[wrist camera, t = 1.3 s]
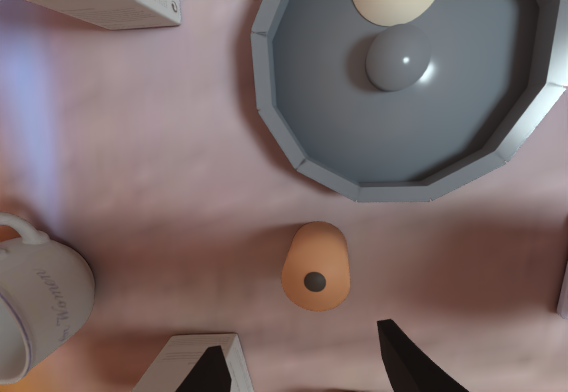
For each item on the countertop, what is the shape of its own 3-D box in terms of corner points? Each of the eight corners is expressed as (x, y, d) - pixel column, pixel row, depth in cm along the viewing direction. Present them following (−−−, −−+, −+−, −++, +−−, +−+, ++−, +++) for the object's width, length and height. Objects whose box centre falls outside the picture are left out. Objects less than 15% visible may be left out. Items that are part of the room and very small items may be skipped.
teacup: (102, 334, 29) (21, 409, 22) (15, 289, 30) (-93, 347, 22) (130, 225, 25) (40, 272, 17) (27, 175, 26) (-103, 199, 18)
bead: (346, 221, 21) (350, 251, 16) (347, 272, 22) (350, 314, 18) (290, 221, 22) (278, 250, 17) (293, 270, 23) (282, 310, 18)
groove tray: (570, -132, 14) (618, -182, 12) (518, 189, 19) (545, 200, 16) (252, -68, 17) (239, -97, 15) (272, 194, 22) (265, 203, 19)
